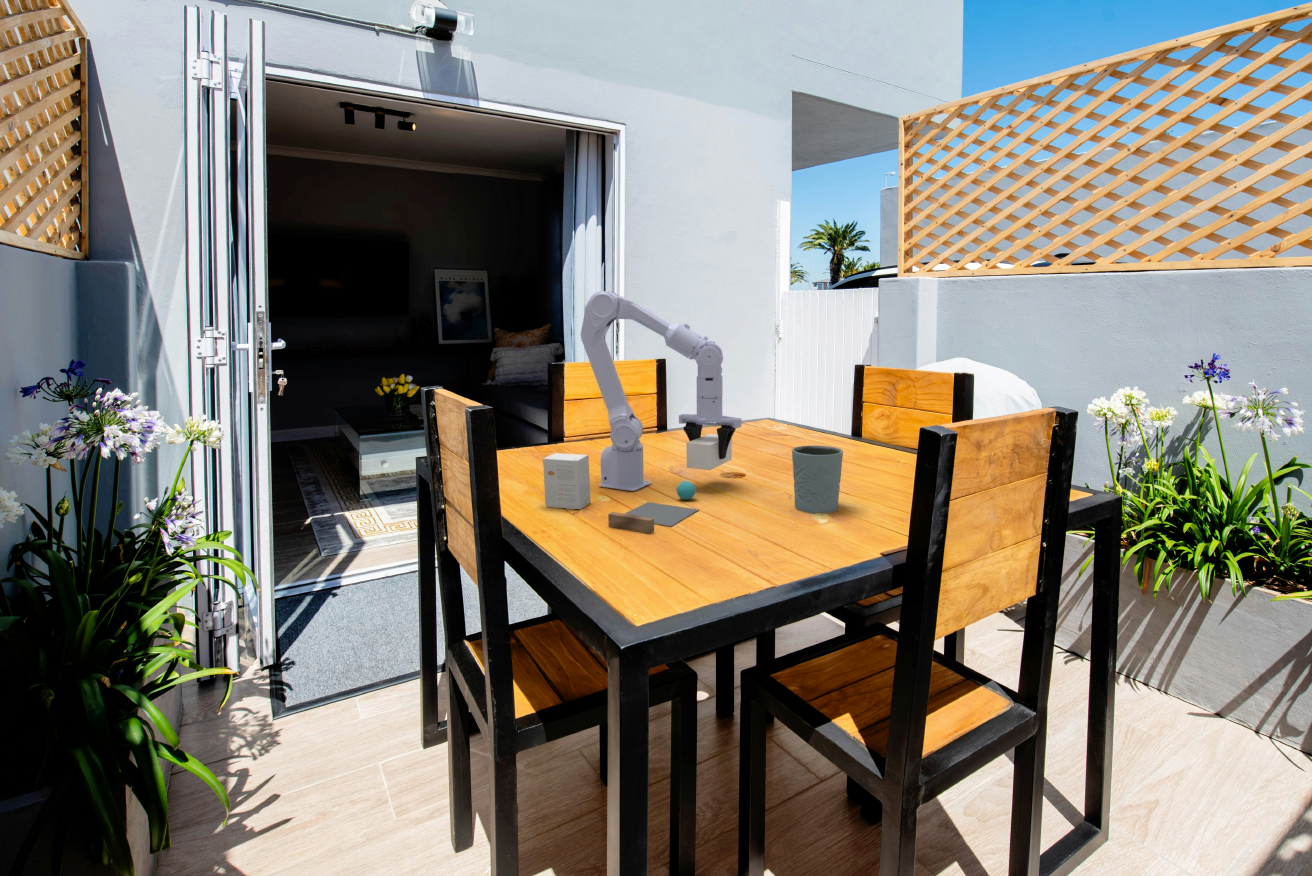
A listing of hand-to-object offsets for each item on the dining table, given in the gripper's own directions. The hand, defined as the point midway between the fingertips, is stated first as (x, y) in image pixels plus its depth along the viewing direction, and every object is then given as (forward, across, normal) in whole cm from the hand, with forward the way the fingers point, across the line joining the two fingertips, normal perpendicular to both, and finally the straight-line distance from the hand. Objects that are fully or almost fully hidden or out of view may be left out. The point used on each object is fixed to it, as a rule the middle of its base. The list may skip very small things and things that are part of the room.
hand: (709, 457), depth 160 cm
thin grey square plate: (+7, 0, -24) cm, 25 cm away
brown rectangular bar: (+7, 0, -34) cm, 35 cm away
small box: (+7, -20, -26) cm, 34 cm away
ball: (+5, 0, -12) cm, 13 cm away
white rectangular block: (+2, 0, 0) cm, 2 cm away
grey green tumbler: (+7, +26, -4) cm, 27 cm away
